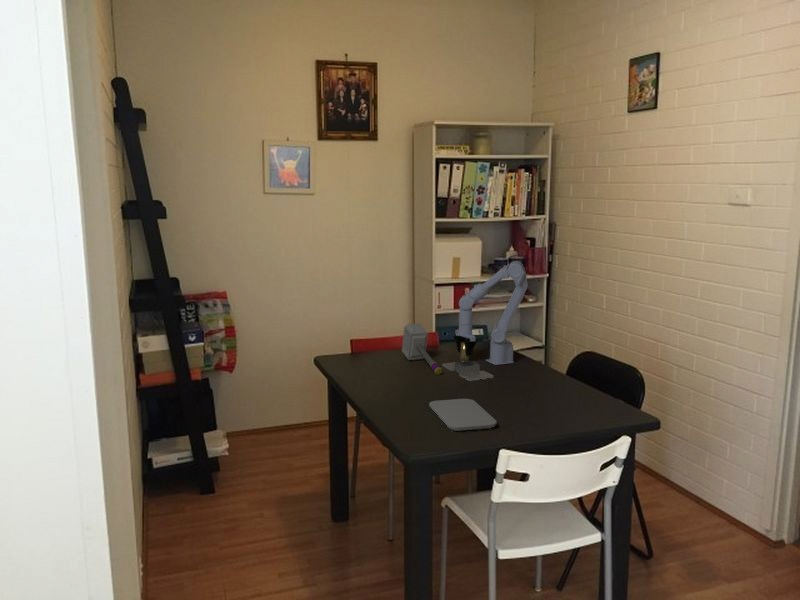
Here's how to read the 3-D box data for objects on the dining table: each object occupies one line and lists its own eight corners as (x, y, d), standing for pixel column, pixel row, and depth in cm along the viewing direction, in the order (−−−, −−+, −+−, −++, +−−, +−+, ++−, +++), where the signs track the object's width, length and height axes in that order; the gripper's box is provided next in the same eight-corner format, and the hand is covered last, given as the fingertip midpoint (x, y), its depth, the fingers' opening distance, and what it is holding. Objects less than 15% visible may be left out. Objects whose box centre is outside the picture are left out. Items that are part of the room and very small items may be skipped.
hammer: (449, 354, 272) (421, 321, 298) (432, 356, 270) (404, 322, 295) (445, 387, 279) (417, 352, 304) (427, 389, 276) (401, 353, 301)
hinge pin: (466, 359, 299) (466, 341, 298) (470, 361, 296) (470, 343, 295) (459, 359, 298) (459, 341, 296) (462, 361, 295) (463, 343, 293)
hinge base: (465, 363, 292) (465, 355, 292) (493, 378, 271) (493, 369, 270) (442, 365, 288) (442, 357, 287) (468, 381, 267) (469, 372, 266)
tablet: (471, 404, 241) (471, 398, 240) (499, 430, 216) (499, 423, 216) (426, 407, 237) (426, 401, 237) (450, 434, 212) (450, 428, 212)
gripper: (449, 320, 299) (448, 350, 301) (465, 327, 286) (464, 358, 288) (463, 319, 302) (462, 349, 304) (480, 326, 289) (479, 357, 291)
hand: (464, 354), depth 296 cm, fingers open, 7 cm apart
